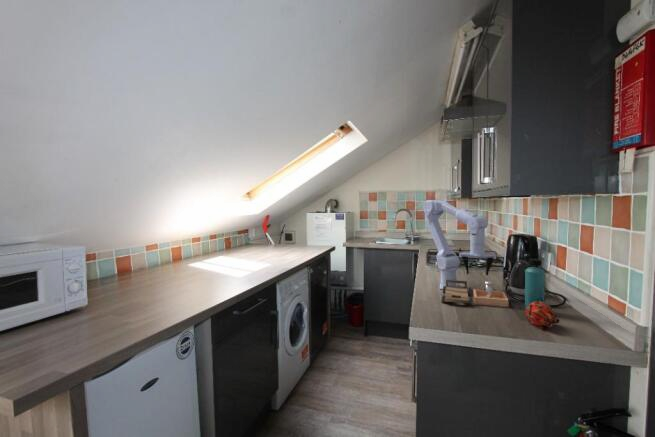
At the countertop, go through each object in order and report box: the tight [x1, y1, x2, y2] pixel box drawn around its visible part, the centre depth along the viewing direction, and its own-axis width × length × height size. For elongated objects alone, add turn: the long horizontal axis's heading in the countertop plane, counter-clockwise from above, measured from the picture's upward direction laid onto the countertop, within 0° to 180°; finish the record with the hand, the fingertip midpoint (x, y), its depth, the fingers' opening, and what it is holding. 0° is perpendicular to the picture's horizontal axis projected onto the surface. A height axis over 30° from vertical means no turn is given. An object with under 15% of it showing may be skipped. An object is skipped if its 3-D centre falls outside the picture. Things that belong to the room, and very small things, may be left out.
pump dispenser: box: [508, 259, 535, 297], centre depth 140 cm, size 10×10×15 cm
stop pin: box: [484, 280, 494, 298], centre depth 131 cm, size 3×3×8 cm
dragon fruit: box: [524, 301, 561, 329], centre depth 106 cm, size 8×8×12 cm
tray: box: [472, 288, 509, 309], centre depth 131 cm, size 12×12×3 cm
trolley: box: [441, 279, 473, 306], centre depth 136 cm, size 20×11×6 cm, turn 158°
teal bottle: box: [524, 258, 546, 308], centre depth 119 cm, size 6×7×20 cm
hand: (477, 274), depth 138 cm, fingers open, 7 cm apart
